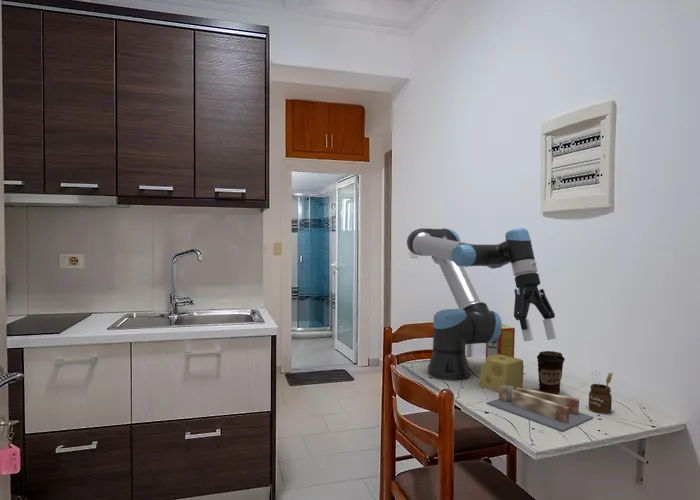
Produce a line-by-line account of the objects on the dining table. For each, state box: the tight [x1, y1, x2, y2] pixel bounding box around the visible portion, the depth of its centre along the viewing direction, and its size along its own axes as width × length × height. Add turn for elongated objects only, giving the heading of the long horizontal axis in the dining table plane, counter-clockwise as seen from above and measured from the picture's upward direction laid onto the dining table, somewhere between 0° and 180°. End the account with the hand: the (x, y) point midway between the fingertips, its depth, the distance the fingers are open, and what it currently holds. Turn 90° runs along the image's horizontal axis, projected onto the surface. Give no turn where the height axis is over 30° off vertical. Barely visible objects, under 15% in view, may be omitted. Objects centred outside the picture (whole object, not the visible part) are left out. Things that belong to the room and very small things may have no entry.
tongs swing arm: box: [516, 387, 580, 415], centre depth 135 cm, size 17×2×4 cm, turn 56°
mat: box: [486, 398, 594, 433], centre depth 134 cm, size 24×16×1 cm, turn 36°
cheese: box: [478, 354, 524, 393], centre depth 154 cm, size 10×11×10 cm
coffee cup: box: [536, 350, 566, 395], centre depth 150 cm, size 9×8×13 cm
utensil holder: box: [588, 370, 614, 414], centre depth 135 cm, size 6×6×12 cm
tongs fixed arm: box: [498, 385, 570, 423], centre depth 133 cm, size 22×3×4 cm, turn 36°
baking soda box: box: [485, 323, 516, 358], centre depth 181 cm, size 10×6×16 cm
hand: (540, 340), depth 145 cm, fingers open, 13 cm apart
